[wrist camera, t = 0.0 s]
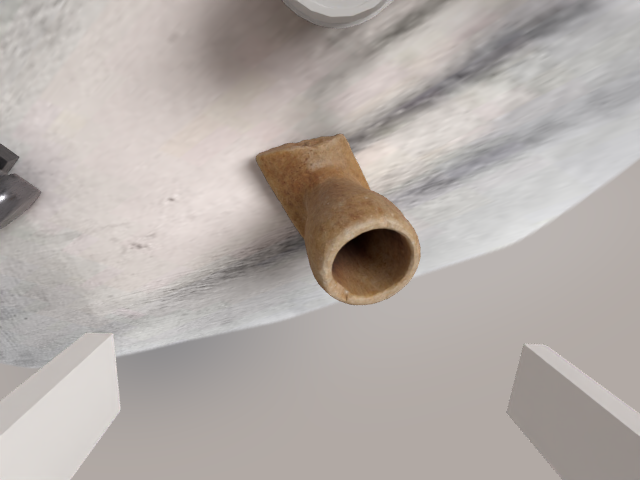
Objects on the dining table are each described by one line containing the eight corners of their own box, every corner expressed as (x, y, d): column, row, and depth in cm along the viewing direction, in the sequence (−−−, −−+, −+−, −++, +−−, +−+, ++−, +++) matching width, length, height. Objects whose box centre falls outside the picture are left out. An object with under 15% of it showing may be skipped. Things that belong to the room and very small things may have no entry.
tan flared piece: (398, 219, 39) (442, 303, 27) (313, 252, 41) (316, 345, 29) (356, 102, 31) (391, 141, 19) (255, 150, 34) (225, 215, 21)
